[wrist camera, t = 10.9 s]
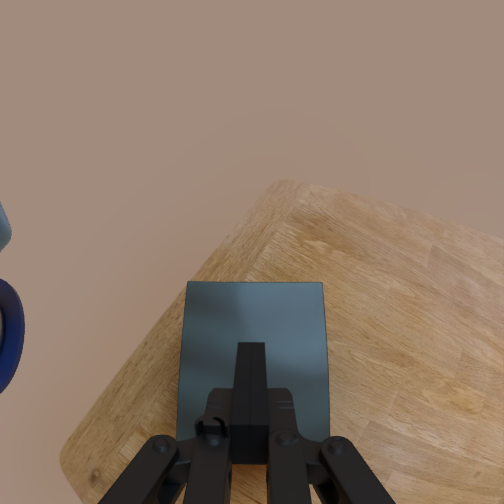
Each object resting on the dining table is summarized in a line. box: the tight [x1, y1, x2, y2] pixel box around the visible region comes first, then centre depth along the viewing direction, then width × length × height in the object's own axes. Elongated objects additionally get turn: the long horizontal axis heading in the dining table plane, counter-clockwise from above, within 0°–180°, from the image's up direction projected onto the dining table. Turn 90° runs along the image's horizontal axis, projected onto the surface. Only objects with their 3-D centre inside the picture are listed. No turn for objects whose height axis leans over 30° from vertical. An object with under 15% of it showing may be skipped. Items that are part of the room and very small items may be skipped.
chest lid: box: [176, 281, 330, 465], centre depth 24 cm, size 16×13×1 cm
